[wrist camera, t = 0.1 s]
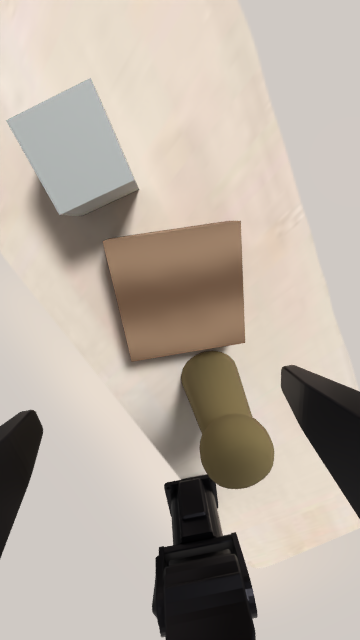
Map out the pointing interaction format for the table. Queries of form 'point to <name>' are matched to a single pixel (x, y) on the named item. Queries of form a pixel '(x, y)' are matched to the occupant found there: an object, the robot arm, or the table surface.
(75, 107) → the slate cube
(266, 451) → the olive game pawn
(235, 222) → the walnut block
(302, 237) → the table surface
